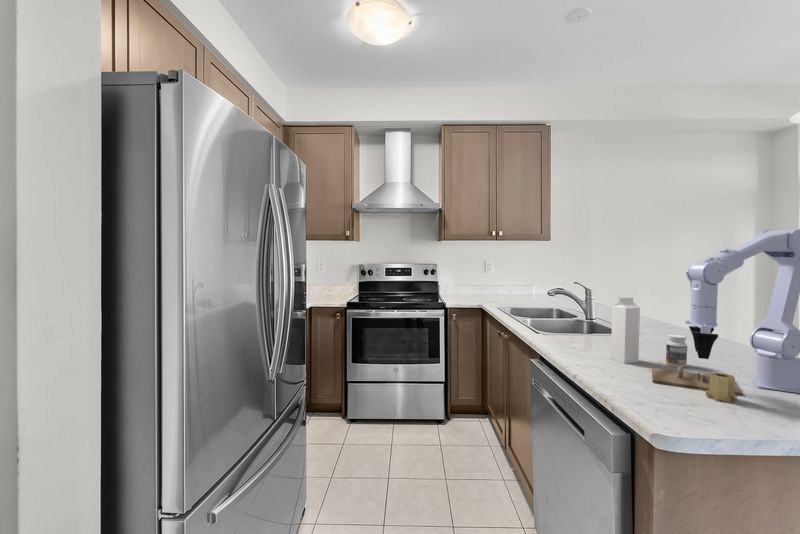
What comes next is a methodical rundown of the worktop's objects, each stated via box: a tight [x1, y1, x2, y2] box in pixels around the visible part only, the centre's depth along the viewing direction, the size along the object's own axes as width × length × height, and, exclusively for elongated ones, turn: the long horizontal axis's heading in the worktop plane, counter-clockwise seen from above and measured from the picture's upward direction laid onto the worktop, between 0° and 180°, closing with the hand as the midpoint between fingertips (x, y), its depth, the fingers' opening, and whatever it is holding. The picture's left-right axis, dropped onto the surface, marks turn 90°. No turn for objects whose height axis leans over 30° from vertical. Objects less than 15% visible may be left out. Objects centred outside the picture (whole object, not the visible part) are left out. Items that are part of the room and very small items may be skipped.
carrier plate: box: [651, 367, 743, 397], centre depth 118 cm, size 20×14×4 cm
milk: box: [610, 296, 641, 364], centre depth 139 cm, size 6×6×22 cm
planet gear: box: [705, 371, 738, 404], centre depth 105 cm, size 6×6×6 cm
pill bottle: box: [665, 334, 688, 368], centre depth 134 cm, size 6×6×10 cm
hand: (701, 355), depth 111 cm, fingers open, 7 cm apart
